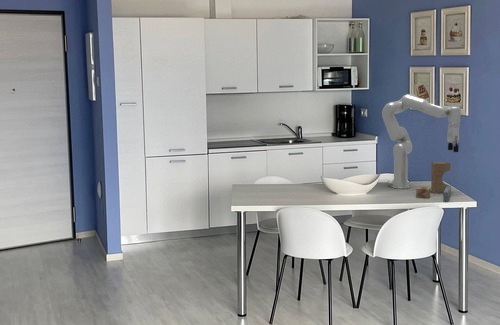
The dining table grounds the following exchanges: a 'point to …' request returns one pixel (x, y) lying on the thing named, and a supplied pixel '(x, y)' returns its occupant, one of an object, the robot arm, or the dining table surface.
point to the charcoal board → (447, 193)
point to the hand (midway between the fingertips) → (453, 151)
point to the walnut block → (423, 192)
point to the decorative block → (438, 176)
